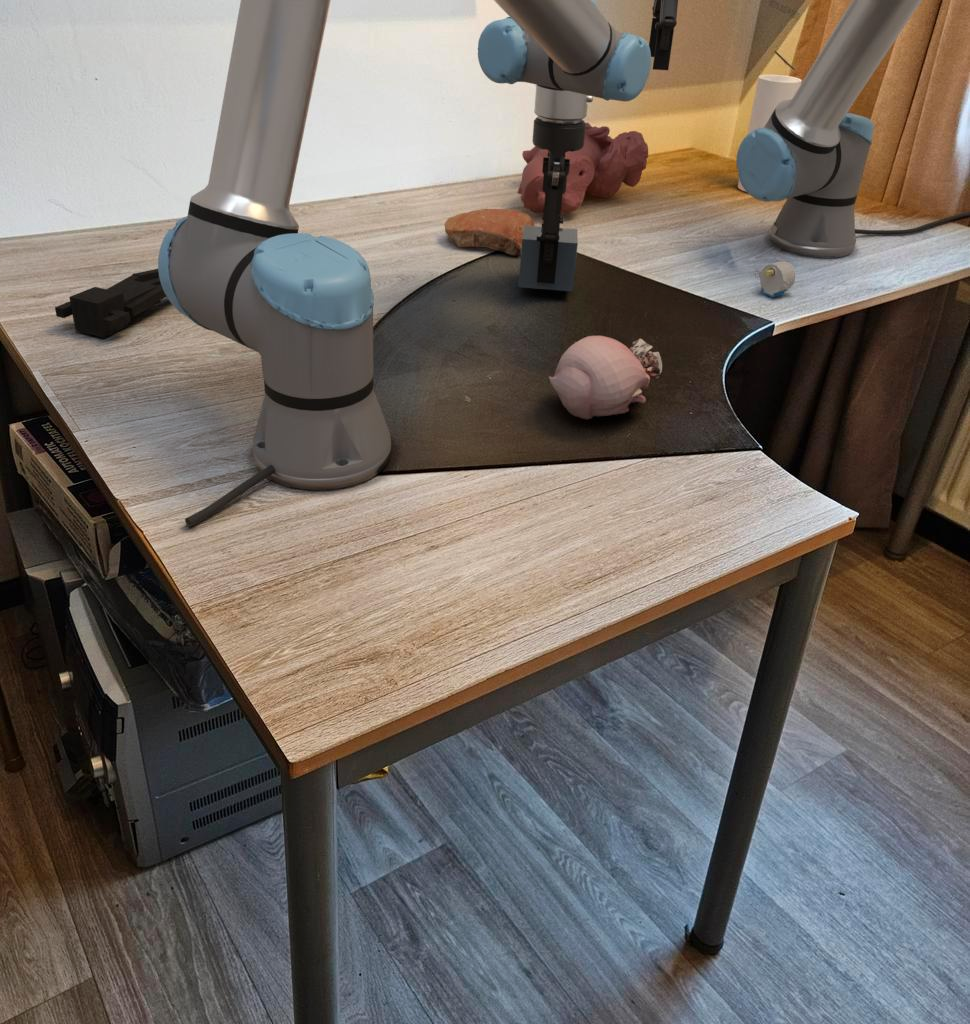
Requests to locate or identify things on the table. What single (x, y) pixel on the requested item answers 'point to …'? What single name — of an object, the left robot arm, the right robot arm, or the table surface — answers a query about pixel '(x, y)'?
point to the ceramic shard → (489, 229)
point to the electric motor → (776, 278)
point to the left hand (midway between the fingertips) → (546, 273)
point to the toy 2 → (604, 376)
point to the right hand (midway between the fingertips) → (657, 63)
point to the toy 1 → (113, 304)
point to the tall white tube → (771, 95)
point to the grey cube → (563, 265)
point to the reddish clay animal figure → (588, 168)
